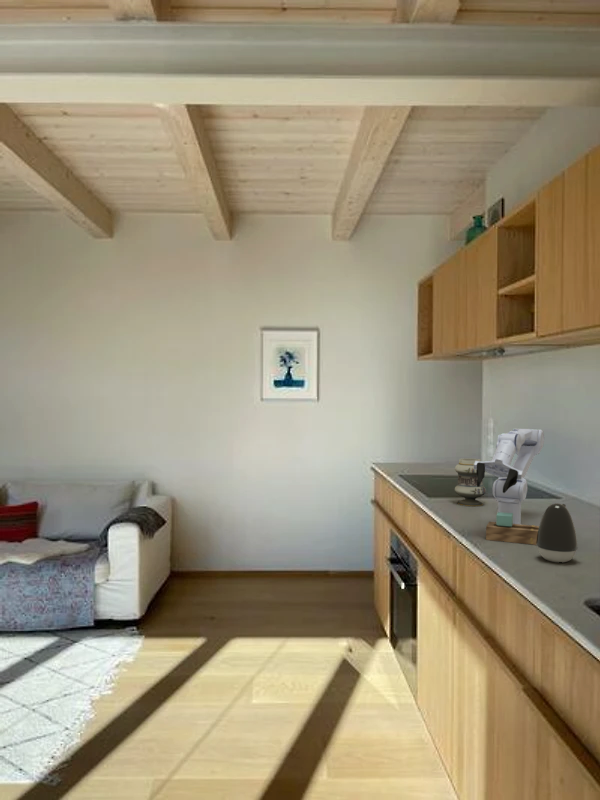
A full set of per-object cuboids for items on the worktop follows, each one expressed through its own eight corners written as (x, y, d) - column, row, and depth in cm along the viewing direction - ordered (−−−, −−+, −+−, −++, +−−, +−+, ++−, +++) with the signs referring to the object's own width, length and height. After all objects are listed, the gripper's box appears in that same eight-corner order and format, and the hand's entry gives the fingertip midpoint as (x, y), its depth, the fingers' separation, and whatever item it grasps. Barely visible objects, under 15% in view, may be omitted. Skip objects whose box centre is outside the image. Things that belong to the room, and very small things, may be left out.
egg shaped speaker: (582, 559, 166) (583, 503, 166) (569, 567, 159) (570, 508, 158) (544, 552, 173) (545, 498, 173) (530, 560, 165) (531, 503, 165)
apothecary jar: (464, 500, 255) (465, 456, 255) (491, 504, 247) (492, 459, 247) (448, 503, 247) (449, 458, 247) (475, 508, 238) (476, 461, 238)
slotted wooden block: (485, 539, 187) (486, 518, 187) (489, 534, 195) (489, 513, 195) (572, 548, 178) (572, 526, 178) (572, 542, 186) (572, 520, 185)
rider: (496, 532, 188) (496, 515, 188) (497, 528, 193) (498, 512, 192) (511, 533, 186) (511, 516, 186) (512, 530, 191) (513, 513, 191)
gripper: (479, 444, 197) (467, 471, 188) (526, 454, 190) (516, 483, 181) (478, 461, 201) (466, 488, 192) (525, 471, 194) (515, 500, 185)
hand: (490, 487), depth 187 cm, fingers open, 7 cm apart
